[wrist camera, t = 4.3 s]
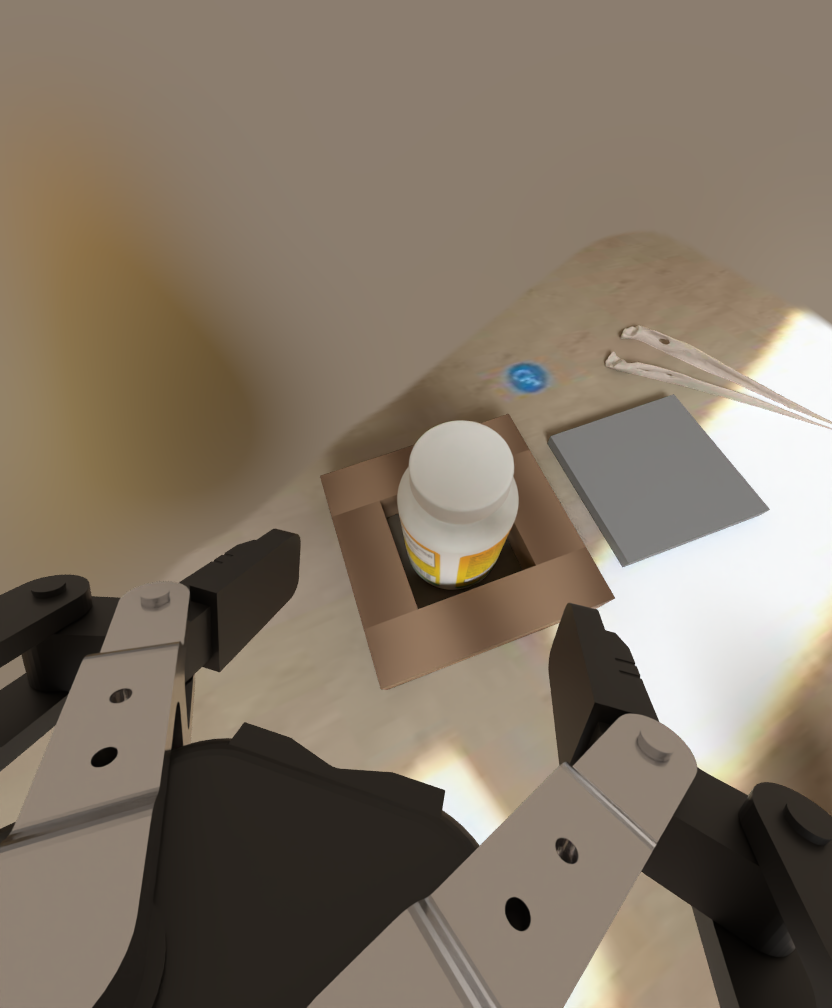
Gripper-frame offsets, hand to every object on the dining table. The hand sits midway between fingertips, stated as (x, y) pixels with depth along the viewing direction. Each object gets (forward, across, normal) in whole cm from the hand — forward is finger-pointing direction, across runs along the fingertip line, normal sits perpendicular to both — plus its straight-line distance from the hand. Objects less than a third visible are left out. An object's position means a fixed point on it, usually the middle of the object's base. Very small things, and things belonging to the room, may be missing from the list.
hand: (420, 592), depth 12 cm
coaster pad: (+17, -11, -1) cm, 20 cm away
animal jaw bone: (+23, -16, -7) cm, 29 cm away
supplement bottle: (+12, 0, +4) cm, 12 cm away
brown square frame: (+11, 0, +4) cm, 12 cm away
